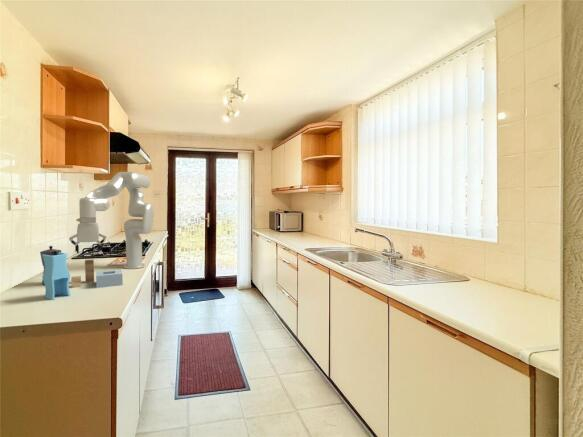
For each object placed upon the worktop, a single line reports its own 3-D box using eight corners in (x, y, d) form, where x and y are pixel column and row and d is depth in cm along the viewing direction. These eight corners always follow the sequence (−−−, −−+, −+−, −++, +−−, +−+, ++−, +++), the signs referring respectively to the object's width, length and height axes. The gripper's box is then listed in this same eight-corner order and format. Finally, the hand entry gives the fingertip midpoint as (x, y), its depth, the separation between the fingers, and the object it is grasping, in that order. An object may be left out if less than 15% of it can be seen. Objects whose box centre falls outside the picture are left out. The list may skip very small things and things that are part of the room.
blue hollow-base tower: (61, 293, 164) (60, 252, 163) (70, 295, 161) (69, 253, 159) (43, 297, 157) (41, 254, 156) (52, 300, 154) (50, 256, 152)
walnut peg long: (85, 281, 186) (85, 259, 185) (94, 280, 188) (93, 259, 187) (85, 283, 183) (84, 261, 182) (94, 282, 185) (93, 260, 184)
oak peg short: (72, 286, 177) (71, 276, 177) (81, 285, 179) (80, 275, 179) (71, 287, 174) (71, 278, 173) (80, 286, 176) (80, 277, 175)
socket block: (96, 282, 184) (96, 271, 184) (121, 279, 190) (120, 269, 190) (96, 287, 174) (96, 276, 174) (122, 284, 180) (122, 273, 180)
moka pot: (57, 279, 190) (56, 243, 189) (69, 283, 182) (68, 246, 180) (37, 282, 183) (35, 245, 181) (48, 287, 174) (47, 248, 172)
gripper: (68, 221, 175) (68, 254, 176) (106, 220, 184) (106, 252, 185) (69, 220, 182) (69, 252, 183) (105, 220, 191) (106, 250, 191)
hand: (88, 252), depth 184 cm, fingers open, 9 cm apart
